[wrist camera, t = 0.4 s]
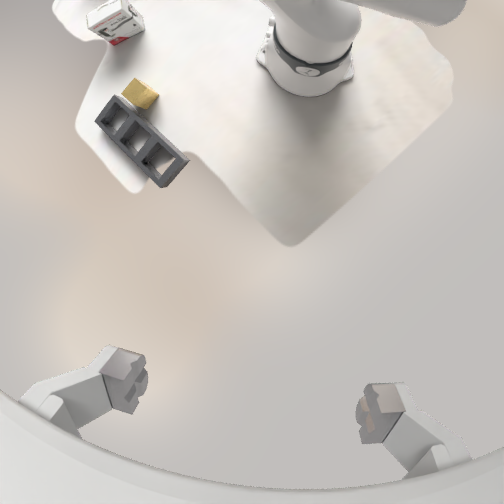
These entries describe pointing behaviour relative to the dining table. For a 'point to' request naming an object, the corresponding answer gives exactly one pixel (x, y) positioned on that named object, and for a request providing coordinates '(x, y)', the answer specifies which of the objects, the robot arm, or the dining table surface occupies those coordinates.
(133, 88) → the brushed brass bar
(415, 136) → the dining table surface
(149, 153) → the grey compartment tray
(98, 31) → the ink box
